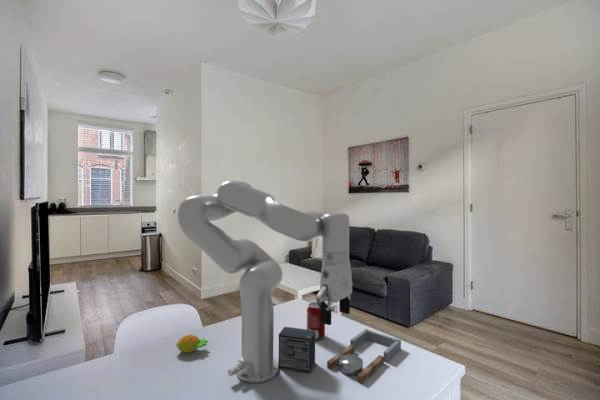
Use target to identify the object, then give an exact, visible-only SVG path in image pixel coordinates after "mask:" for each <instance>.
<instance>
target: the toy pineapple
mask: <svg viewBox="0 0 600 400" xmlns="http://www.w3.org/2000/svg"><path fill="white" fill-rule="evenodd" d="M207 343H209V341H208V340H206V338H203V339H200V338H199V337H198V336H197V335H194V334H185V335H183V336H182V337H180V338H179V340H178V341H177V342H176V343H175V345H176V346H175V347H176V348H177V349H178V350H179V351H180V352H182V353H184V354H185V353H186V354H188V353H192V352H195V351H196V350H198V348H203V347H206V346H207V345H208V344H207Z"/></svg>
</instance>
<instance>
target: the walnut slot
mask: <svg viewBox="0 0 600 400" xmlns="http://www.w3.org/2000/svg"><path fill="white" fill-rule="evenodd" d="M355 349H356V348H355V346H354V345H351V344H349V345H348V346H346V347H345V348H344V349H343V350H341V351H339V352H338V353H337V354H335V355H334V356H333V357H331V358H330V359H328V360H327V361H326V368H327V369H329V370H332V369H334V368H335V367H336V366H338V365H339V359H340V357H341V356H343V355H346V354H352V355H353V353H355ZM384 363H385V362H384V355H383V356H382V355H378V356H377V357H376V358H374V359H373V360H372V361H371V362H370V363H369V364H368V365H367V366H365V368H364V369H363V370H362V371H361V372H360V373H359V374H358V376H356V377H357V378H356V380H357V383H358V384H361V385H363V384H364V383H365V382H366V381H367V380H368V379H369V378H370V377H371V376H372V375H373V374H374V373H375V372H376V371H377V370H378V369H379V368H380V367H382V365H384Z"/></svg>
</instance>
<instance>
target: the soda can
mask: <svg viewBox="0 0 600 400" xmlns="http://www.w3.org/2000/svg"><path fill="white" fill-rule="evenodd" d="M306 329H307V330H314V331H315V341H316V340H322V339H323V338H324V337H325V336H326V335H325V334H326V331H325V330H326V324H324V323H321V321H320V308H319V306H318V304H317V301H313V302H310V303H308V306H307V309H306Z"/></svg>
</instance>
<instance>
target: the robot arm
mask: <svg viewBox="0 0 600 400" xmlns="http://www.w3.org/2000/svg"><path fill="white" fill-rule="evenodd" d="M234 213H239V214H241V215H244V216H246V217H249V218H251V219H253V220H256V221H259V222H260V223H262V225H265V226H266V227H268V228H269V229H270V230H273V231H275V232H277V233H279V234H281V235H284V236H285V237H286V236H287V237H289V238H291V239H294V240H296V241H300V242H308V241H312V240H314V238H317V237H321V238H322V249H321V253H322V255H321V257H322V258H321V260H322V261H321V262H322V264H321V271H320V282H319V286H320V287H319V291H318V293H316V295H315V300H316V302H317V304H318V306H319V308H320V321H321V323H324V324H325V325H326V326H330V325H332V309H331V307H332V304H333V303H337V302H339V306H338V307H339V308H338V309H339V312H340V313H342V314H346V315H350V312H351V309H350V307H351V299H352V296H351V295H352V294H353V284H354V283H353V277H352V275H353V274H352V266H351V262H350V217H349V215H348V214H347V213H343V212H342V213H341V212H328V213H322V212H316V211H307V212H302V211H300V210H297V209H294V208H291V207H290V206H287V205H284V204H282V203H281V202H279V201H278V200H276V198H275V196H273V195H272V194H271V193H269V192H268V193H267V192H264V191H262V190H259V189H257V188H254V187H252V185H251V184H249V183H247V182H245V181H237V180H227V181H225V182H223V183H221V184H220V185H219V187H218V188H217V191H216V194H212V195H207V194H206V195H204V194H203V195H192V196H189V197H187V198H185V199H184V200H182V202H181V203H180V204H179V207H178V211H177V220H178V224H179V227H180V229H181V231H182V232H183V234H184V235H185V237H186V238H188V240H190V241H191V242H192V243H193V244H195V245H196V246H197V247H198V248H199V249H200V250H202V252H204V254H205V255H206V256H208V257H209V258H210V259H211V260H212V261H213V262H214V263H215V264H217V266H218V267H219V268H220V269H222V270H223V271H224V272H226V273H227V274H230V275H231V274H236V273H239V272H241V271H243V270H244V272H243V274H242V275H241V277H240V280H239V285H238V287H239V288H238V289H239V296H240V303H241V356H240V357H239V358H238V363H236V365H235V366H233V367H231V368H229V369H228V370H227V375H228V376H229V377H231V378H232V377H233V376H234V375H236V376H237V377H238V378H239V379H240V380H242V381H243V382H246V383H250V384H251V383H252V384H257V383H258V384H259V383H263V382H267V381H269V380H272V379H273V378H274V377H275V376H276V375H277V374H278V372H279V368H278V365H279V362H278V361H277V360H275V359H274V337H275V336H274V332H275V331H274V328H275V327H274V326H275V325H274V324H275V323H274V321H275V320H274V318H275V316H274V315H275V314H274V313H275V312H274V303H273V302H274V301H273V296H272V295H273V294H272V293H273V291H274V290H275V288H277V287H278V285H280V283H281V282H282V279H283V270H282V267H281V265H279V263H278V262H277V261H276V260H275V259H274V258H273V257H271V256H270V254H268V253H267V252H266V251H265V250H264V249H263V248H261V247H260V245H258V244H257V243H255V242H254V241H253V240H250V239H247V238H240V239H236V240H235V239H233V238H232V237H230V235H228V234H227V233H226V232H225V231H224V230H223V229H222V228H220V227H219V226H217V225H215V224H213V222H212V221H218V220H222V219H223V218H226V217H227V216H230V215H232V214H234ZM326 301H327V303H326Z"/></svg>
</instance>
